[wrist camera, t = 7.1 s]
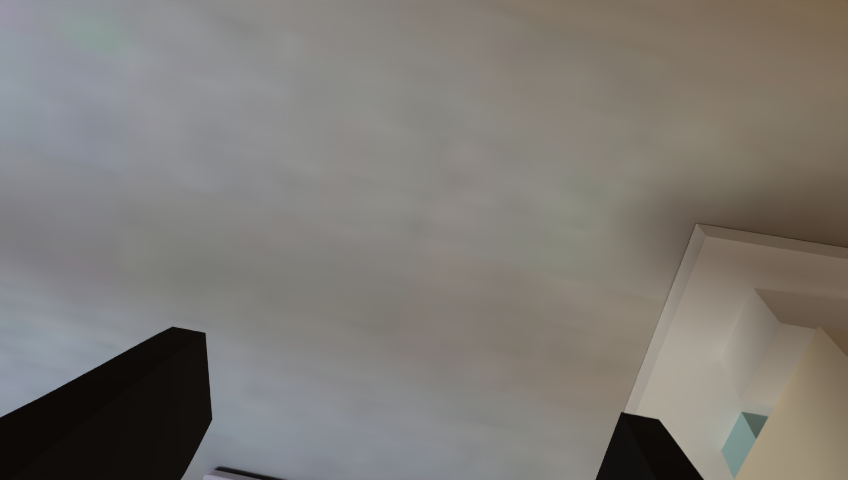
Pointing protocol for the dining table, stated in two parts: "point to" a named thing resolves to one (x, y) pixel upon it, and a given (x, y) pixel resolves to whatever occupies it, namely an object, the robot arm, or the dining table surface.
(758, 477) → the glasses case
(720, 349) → the display stand
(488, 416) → the dining table surface
